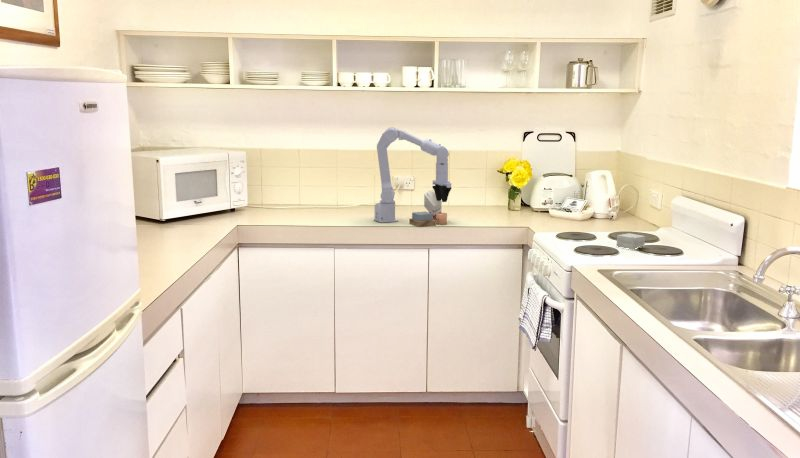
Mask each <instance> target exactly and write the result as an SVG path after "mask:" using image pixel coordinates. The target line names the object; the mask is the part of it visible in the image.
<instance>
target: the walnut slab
mask: <svg viewBox="0 0 800 458" xmlns="http://www.w3.org/2000/svg"><path fill="white" fill-rule="evenodd" d="M408 224H409V225H411V224H412V226H414V227H417V228H422V227H423V228H425V227H426V228H427V227H435V226H436V225H437V224H436V219H433V220H429V221H417V220H414V219H412V218H409V223H408Z"/></svg>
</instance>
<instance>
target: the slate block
mask: <svg viewBox="0 0 800 458" xmlns="http://www.w3.org/2000/svg"><path fill="white" fill-rule="evenodd" d="M411 219H414V220H417V221H429V220H434V218H433V214H432V213H429V212H428V211H417V212H416V211H413V212H412V213H411Z"/></svg>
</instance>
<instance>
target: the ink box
mask: <svg viewBox="0 0 800 458" xmlns="http://www.w3.org/2000/svg"><path fill="white" fill-rule="evenodd" d="M423 198H424V199H423V206H424V208H425V209H426V211H427V212H428V213H432V214H433V219H436V213H442V206H443V205H442V203H443V202H442V199H441V200H440V201H437V199H436V195H435V192H434V189H430V190H429V191H427V192H426V193H424V195H423Z"/></svg>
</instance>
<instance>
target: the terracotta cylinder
mask: <svg viewBox="0 0 800 458" xmlns="http://www.w3.org/2000/svg"><path fill="white" fill-rule="evenodd" d="M435 220H436V225H438V226H446V225H448V213H447V212H441V213H436V217H435Z"/></svg>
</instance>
